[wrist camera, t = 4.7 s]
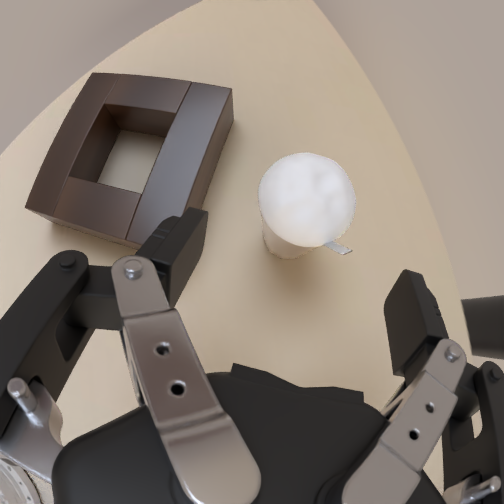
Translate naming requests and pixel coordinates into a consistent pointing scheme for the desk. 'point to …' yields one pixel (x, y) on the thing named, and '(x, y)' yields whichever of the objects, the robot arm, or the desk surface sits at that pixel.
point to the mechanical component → (16, 486)
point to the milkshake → (305, 205)
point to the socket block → (100, 144)
